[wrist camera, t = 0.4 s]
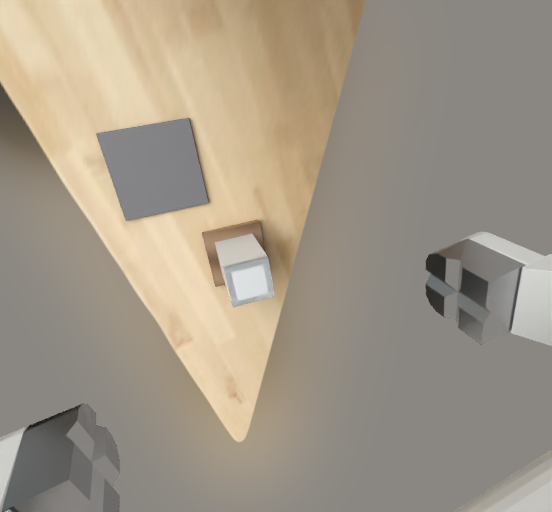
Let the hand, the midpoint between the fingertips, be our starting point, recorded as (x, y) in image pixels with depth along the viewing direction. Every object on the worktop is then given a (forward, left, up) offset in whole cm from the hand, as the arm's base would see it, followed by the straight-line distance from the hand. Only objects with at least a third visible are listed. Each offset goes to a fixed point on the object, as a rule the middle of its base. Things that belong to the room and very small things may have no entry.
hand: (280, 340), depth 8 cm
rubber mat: (+3, -5, -47) cm, 48 cm away
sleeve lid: (+18, +4, -46) cm, 49 cm away
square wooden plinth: (+18, +4, -47) cm, 51 cm away
